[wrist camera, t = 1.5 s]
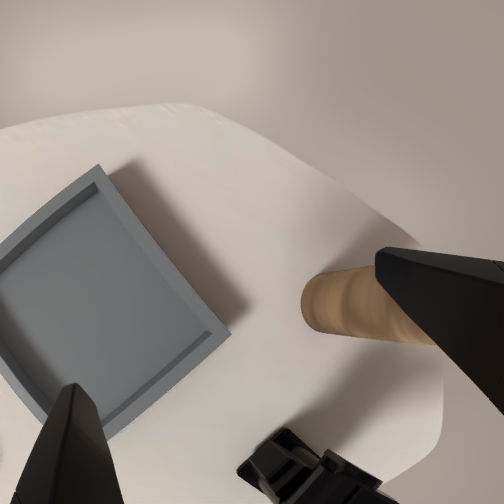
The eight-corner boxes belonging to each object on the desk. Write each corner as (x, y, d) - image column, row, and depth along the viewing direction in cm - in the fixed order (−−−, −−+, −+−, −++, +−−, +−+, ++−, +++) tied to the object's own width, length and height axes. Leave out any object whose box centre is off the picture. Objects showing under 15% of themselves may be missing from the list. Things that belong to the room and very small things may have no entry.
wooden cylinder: (359, 304, 30) (467, 300, 18) (324, 344, 28) (433, 363, 16) (328, 261, 29) (436, 236, 17) (289, 301, 28) (396, 297, 15)
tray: (221, 330, 25) (231, 334, 22) (85, 446, 19) (80, 462, 17) (102, 178, 23) (98, 163, 21) (-31, 295, 18) (-47, 294, 15)
